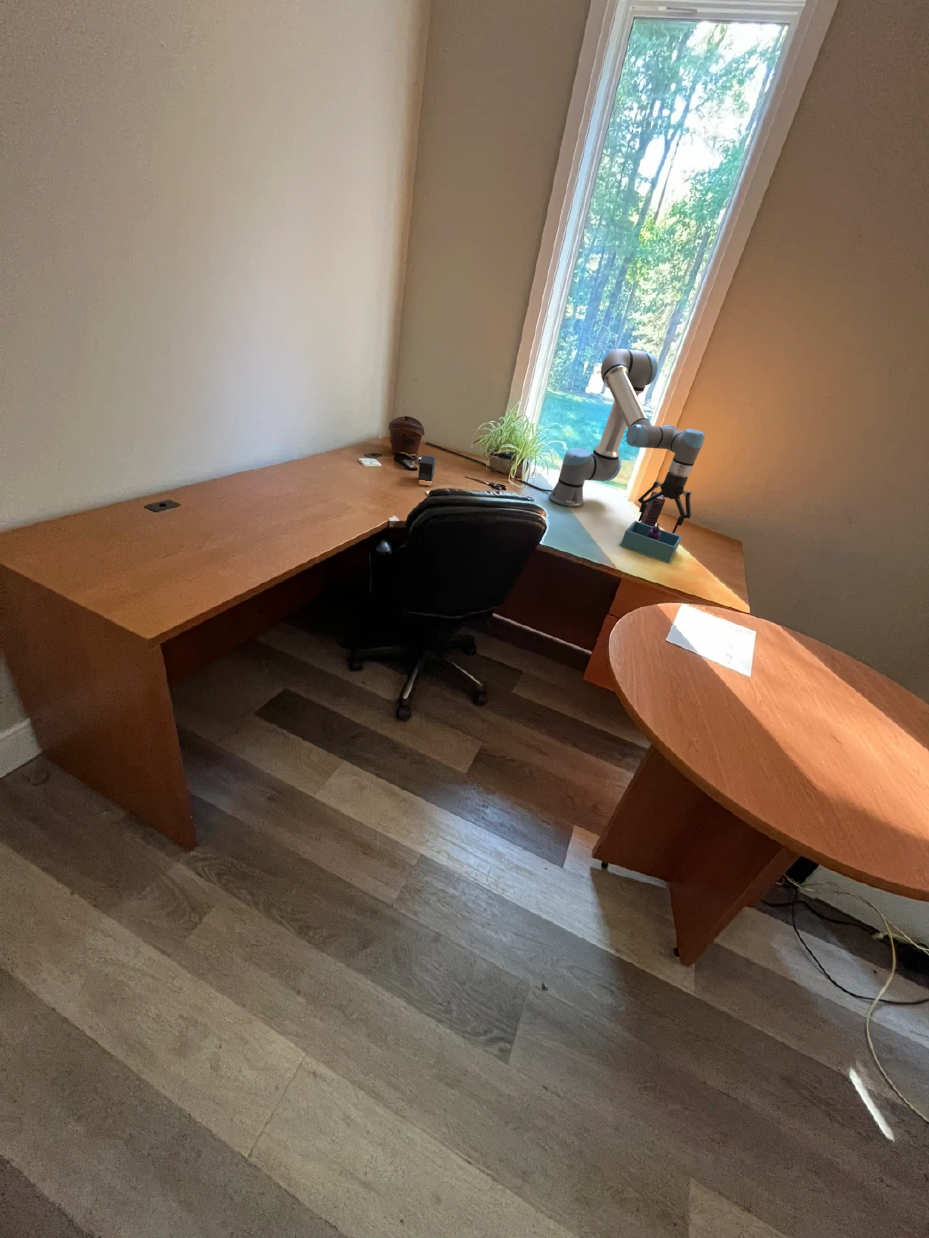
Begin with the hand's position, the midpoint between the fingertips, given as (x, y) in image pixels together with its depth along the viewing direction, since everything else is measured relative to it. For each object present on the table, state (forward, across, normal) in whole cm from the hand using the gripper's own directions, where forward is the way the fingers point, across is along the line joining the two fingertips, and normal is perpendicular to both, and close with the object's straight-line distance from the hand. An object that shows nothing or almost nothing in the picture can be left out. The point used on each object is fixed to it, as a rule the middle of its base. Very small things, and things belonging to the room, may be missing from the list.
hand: (656, 526), depth 193 cm
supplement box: (+10, -6, +19) cm, 22 cm away
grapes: (+9, 0, 0) cm, 9 cm away
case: (+11, -131, +8) cm, 132 cm away
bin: (+10, 0, 0) cm, 10 cm away
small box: (+11, -100, -16) cm, 102 cm away
